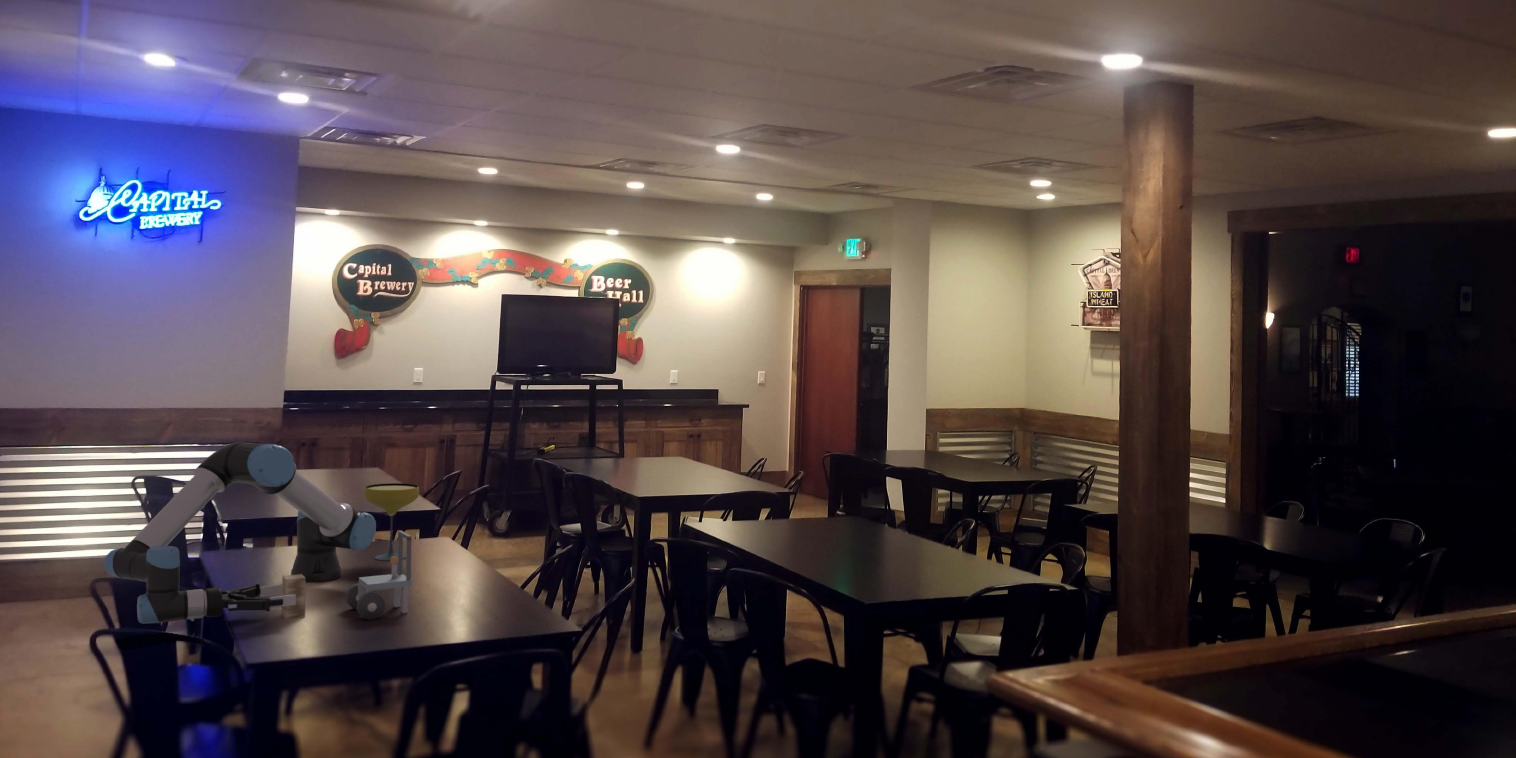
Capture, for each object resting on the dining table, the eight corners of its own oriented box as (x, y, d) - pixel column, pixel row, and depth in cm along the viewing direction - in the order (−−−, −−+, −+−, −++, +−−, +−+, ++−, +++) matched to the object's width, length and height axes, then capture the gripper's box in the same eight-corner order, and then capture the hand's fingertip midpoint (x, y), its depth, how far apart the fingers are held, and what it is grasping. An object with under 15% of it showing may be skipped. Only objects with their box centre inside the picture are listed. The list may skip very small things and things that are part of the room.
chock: (285, 619, 296) (285, 579, 296) (281, 615, 300) (282, 575, 300) (304, 617, 299) (305, 577, 299) (301, 613, 303) (301, 574, 303)
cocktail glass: (397, 550, 392) (398, 481, 391) (428, 557, 382) (429, 486, 381) (352, 557, 378) (353, 486, 377) (384, 565, 367) (385, 491, 366)
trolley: (358, 621, 296) (359, 542, 295) (345, 608, 309) (346, 533, 308) (414, 614, 304) (415, 537, 304) (398, 602, 317) (399, 529, 316)
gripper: (198, 606, 297) (281, 598, 309) (211, 628, 277) (299, 618, 288) (198, 579, 297) (281, 572, 309) (211, 599, 276) (299, 590, 288)
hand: (290, 594), depth 299 cm, fingers open, 13 cm apart
